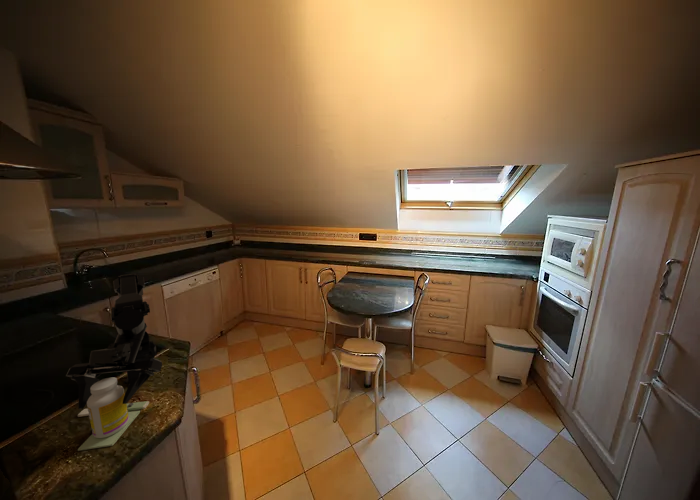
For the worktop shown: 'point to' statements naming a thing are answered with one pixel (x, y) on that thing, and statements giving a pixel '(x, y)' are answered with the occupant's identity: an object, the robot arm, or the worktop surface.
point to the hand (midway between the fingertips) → (102, 406)
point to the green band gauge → (111, 439)
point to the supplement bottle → (107, 408)
